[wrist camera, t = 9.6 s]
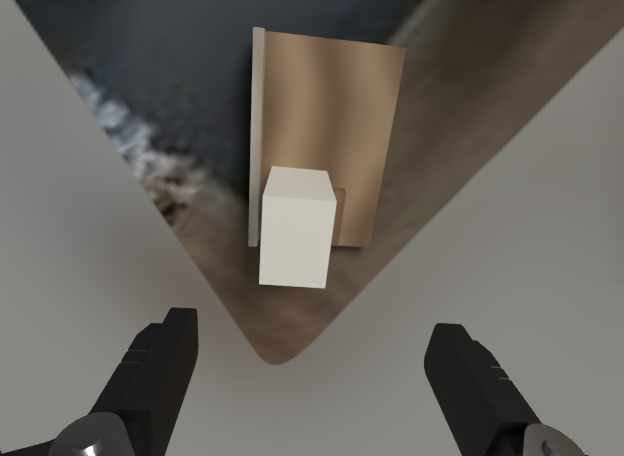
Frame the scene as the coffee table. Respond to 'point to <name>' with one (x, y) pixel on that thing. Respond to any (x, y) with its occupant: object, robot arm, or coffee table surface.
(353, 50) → the wooden board with ledge
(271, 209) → the carton
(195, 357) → the robot arm
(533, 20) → the coffee table surface
